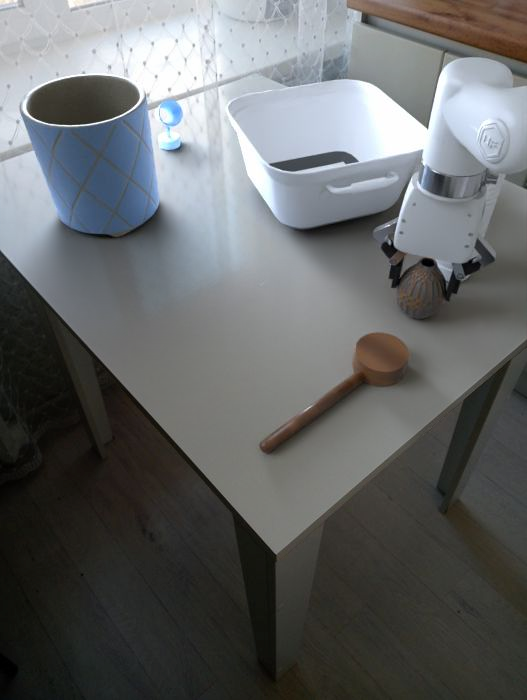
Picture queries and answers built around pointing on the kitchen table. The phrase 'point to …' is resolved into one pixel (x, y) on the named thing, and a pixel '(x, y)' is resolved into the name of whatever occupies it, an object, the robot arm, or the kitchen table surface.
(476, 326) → the kitchen table surface
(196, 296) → the kitchen table surface
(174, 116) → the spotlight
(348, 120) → the white plastic wash basin
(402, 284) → the vase
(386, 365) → the ladle
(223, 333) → the kitchen table surface
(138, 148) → the planter
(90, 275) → the kitchen table surface
